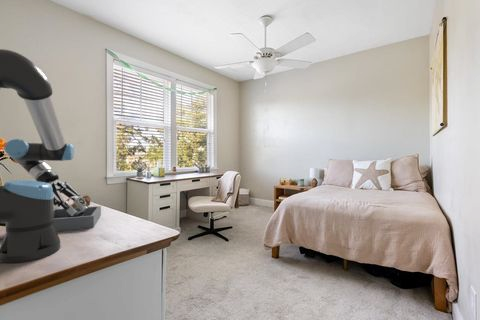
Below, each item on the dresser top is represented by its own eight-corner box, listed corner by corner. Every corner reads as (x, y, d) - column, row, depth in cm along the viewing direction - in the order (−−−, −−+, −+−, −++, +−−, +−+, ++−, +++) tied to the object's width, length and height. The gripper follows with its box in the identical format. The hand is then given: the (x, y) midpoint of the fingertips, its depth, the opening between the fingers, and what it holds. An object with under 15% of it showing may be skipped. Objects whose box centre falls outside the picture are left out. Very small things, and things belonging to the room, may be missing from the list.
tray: (93, 227, 103) (93, 216, 103) (36, 233, 95) (35, 220, 95) (100, 215, 121) (100, 206, 121) (53, 219, 114) (52, 209, 114)
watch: (83, 221, 107) (81, 198, 106) (63, 222, 106) (61, 198, 105) (89, 217, 113) (87, 194, 111) (71, 217, 112) (69, 194, 110)
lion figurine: (83, 210, 131) (83, 194, 131) (93, 210, 131) (93, 194, 131) (64, 218, 116) (64, 200, 116) (75, 218, 116) (75, 200, 116)
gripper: (56, 178, 118) (88, 212, 118) (18, 184, 99) (57, 223, 99) (66, 168, 117) (98, 201, 117) (30, 171, 98) (69, 211, 98)
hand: (79, 211), depth 108 cm, fingers open, 6 cm apart
